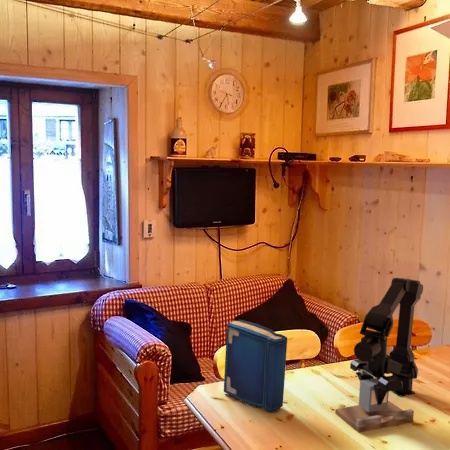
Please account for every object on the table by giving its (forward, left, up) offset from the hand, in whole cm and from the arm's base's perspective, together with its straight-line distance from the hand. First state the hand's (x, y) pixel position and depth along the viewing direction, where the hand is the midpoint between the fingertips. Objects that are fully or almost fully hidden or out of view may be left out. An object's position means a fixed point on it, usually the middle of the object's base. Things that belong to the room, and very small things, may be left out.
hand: (373, 400), depth 160 cm
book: (+31, -21, -6) cm, 38 cm away
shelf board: (0, +1, -5) cm, 5 cm away
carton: (0, 0, -2) cm, 2 cm away
